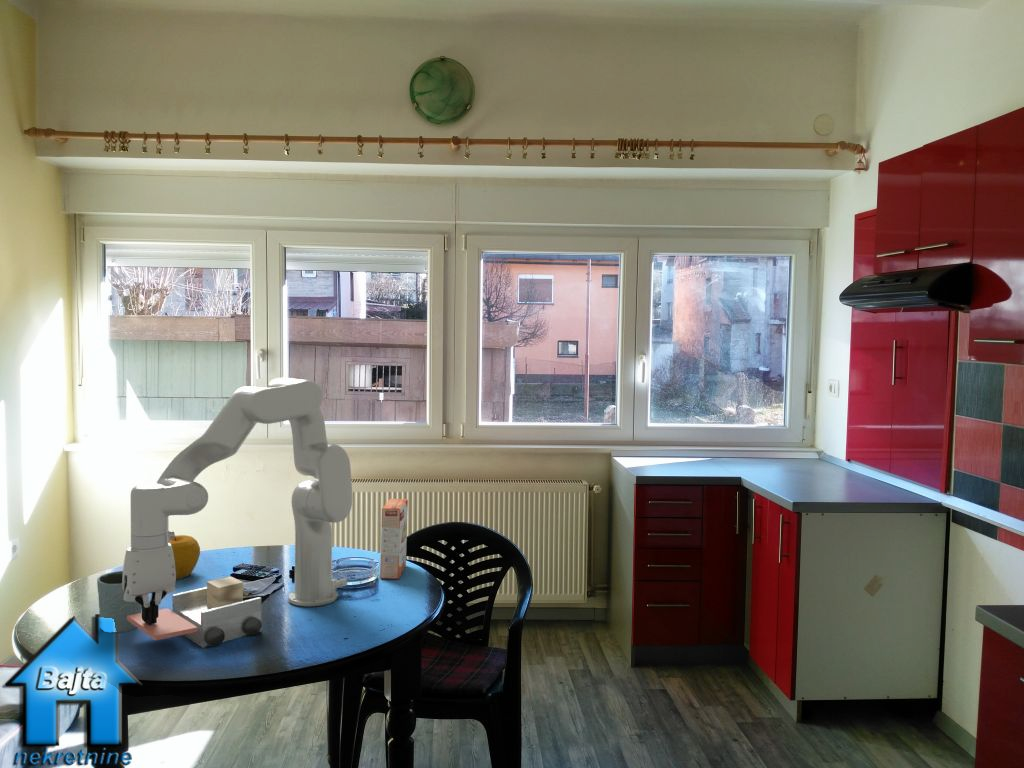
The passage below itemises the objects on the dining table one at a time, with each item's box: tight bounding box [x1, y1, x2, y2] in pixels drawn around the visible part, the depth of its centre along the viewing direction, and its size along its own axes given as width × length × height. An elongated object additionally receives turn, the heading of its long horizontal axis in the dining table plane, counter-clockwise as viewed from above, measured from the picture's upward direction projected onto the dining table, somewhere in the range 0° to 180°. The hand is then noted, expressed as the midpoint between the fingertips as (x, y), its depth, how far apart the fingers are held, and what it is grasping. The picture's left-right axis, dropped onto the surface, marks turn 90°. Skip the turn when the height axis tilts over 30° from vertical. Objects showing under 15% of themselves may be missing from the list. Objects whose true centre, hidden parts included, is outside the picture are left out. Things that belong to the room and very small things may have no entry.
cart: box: [172, 586, 263, 648], centre depth 179 cm, size 14×18×8 cm
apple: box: [169, 534, 201, 580], centre depth 217 cm, size 13×13×11 cm
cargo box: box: [206, 576, 244, 609], centre depth 180 cm, size 6×6×6 cm
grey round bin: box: [96, 570, 142, 633], centre depth 179 cm, size 10×10×12 cm
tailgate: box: [127, 608, 197, 641], centre depth 170 cm, size 1×16×9 cm
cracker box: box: [379, 498, 409, 580], centre depth 225 cm, size 14×6×21 cm, turn 179°
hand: (150, 622), depth 168 cm, fingers closed
